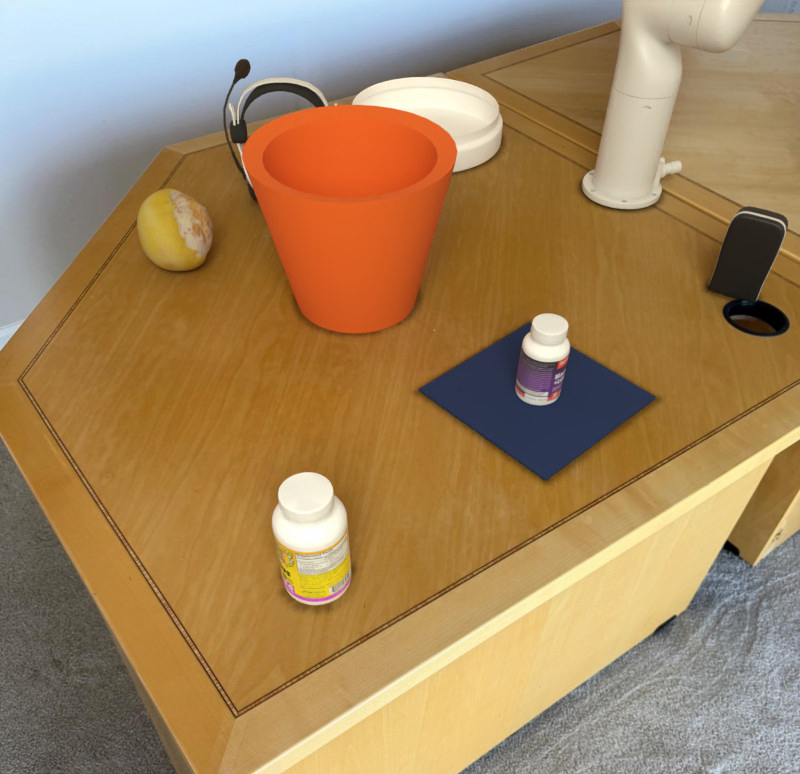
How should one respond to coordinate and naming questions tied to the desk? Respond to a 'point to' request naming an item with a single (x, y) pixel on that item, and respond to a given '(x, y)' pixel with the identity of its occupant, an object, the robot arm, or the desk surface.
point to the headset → (262, 87)
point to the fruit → (174, 230)
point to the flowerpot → (352, 207)
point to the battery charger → (748, 253)
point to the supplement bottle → (312, 539)
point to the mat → (536, 424)
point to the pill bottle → (543, 360)
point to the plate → (446, 112)
